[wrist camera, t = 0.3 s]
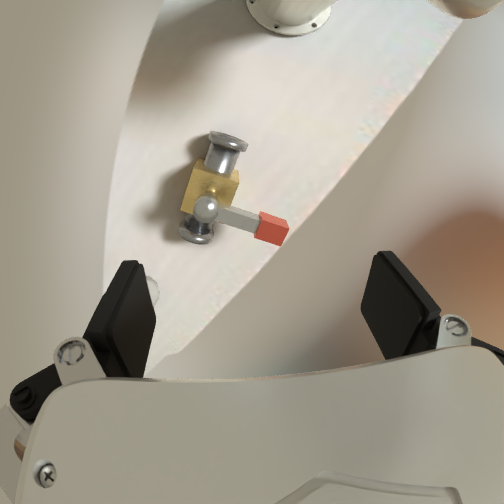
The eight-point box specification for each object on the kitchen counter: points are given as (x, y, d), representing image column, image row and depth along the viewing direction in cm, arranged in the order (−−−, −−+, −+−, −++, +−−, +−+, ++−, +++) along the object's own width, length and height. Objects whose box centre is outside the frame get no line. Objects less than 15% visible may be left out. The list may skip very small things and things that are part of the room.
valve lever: (192, 210, 36) (189, 219, 33) (199, 189, 34) (197, 196, 32) (277, 237, 38) (280, 247, 36) (286, 218, 37) (290, 227, 35)
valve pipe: (209, 128, 39) (203, 136, 31) (249, 142, 40) (254, 153, 33) (178, 221, 46) (168, 248, 38) (215, 232, 48) (212, 261, 40)
